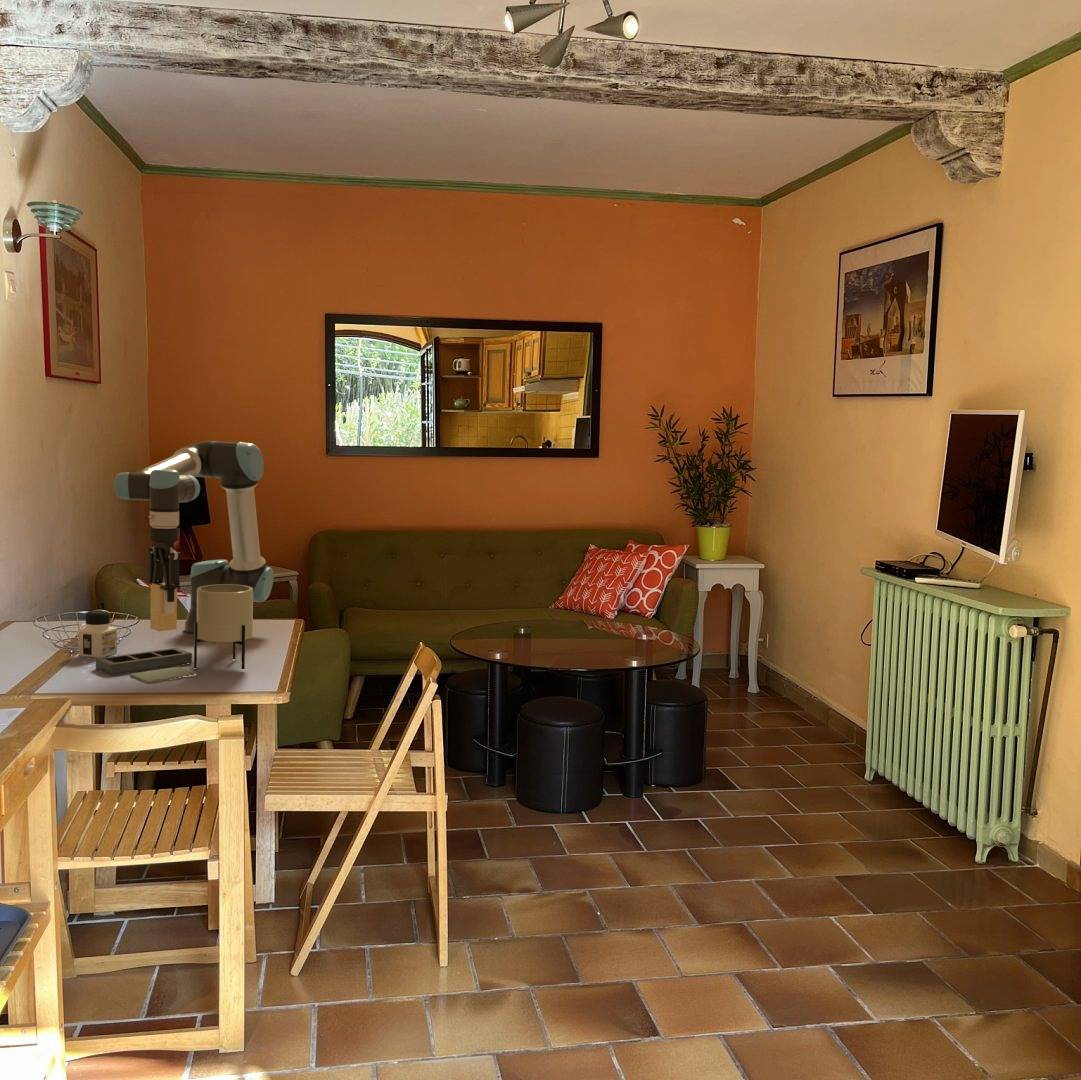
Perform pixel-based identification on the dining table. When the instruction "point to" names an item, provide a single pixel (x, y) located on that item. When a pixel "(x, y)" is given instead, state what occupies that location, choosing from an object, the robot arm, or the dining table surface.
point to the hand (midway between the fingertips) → (163, 611)
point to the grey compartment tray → (143, 661)
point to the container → (97, 635)
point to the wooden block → (161, 609)
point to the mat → (162, 674)
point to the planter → (224, 616)
